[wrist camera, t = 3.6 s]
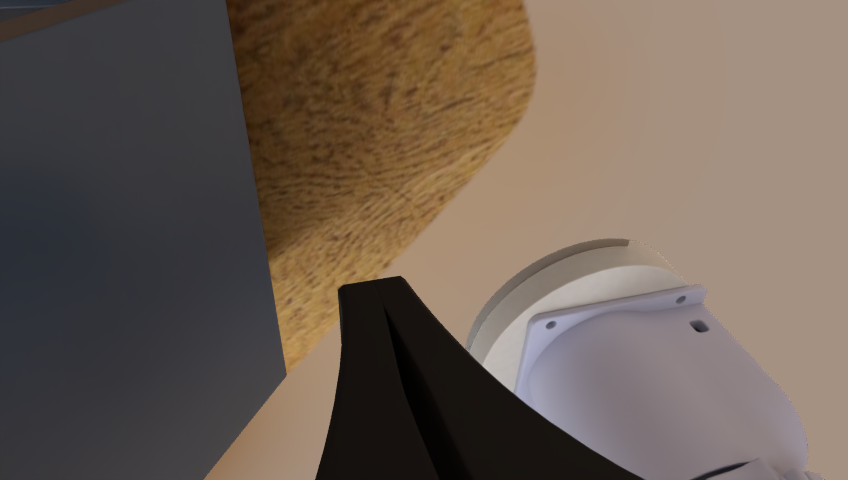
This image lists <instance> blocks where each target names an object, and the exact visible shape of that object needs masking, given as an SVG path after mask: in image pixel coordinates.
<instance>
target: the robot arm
mask: <svg viewBox="0 0 848 480" xmlns="http://www.w3.org/2000/svg"><path fill="white" fill-rule="evenodd" d="M706 293H707V290H706V289H705V288H704V287H703V286H702V285H701V284H696V285H691V286H685V287H680V288H675V289H669V290H664V291H659V292H653V293H648V294H643V295H638V296H632V297H627V298H622V299H616V300H611V301H606V302H600V303H595V304H590V305H584V306H579V307H574V308H569V309H563V310H558V311H553V312H547V313H542V314H538V315H535V316H534V317H532V318H531V319H530V321H529V323H528V327H527V332H526V337H525V342H524V347H523V351H522V356H521V361H520V366H519V370H518V375H517V380H516V385H515V390H514V393H512V392H511V391H510V390H509V389H508V388H506V387H505V386H504V385H503V384H502V383H501V382H499V381H498V380H497V379H496V378H495V377H494V376H493V375H492V374H491V373H489V372H488V371H487V370H486V369H485V368H484V367H483V366H482V365H481V364H480V363H479V362H478V361H477V360H476V359H475V358H474V357H473V356H472V355H471V354H470V353H469V352H467V351H466V350H465V349H464V348H463V347H462V346H461V344H459V342H458V341H457V340H456V339H455V338H454V337H453V336H452V335H451V334H450V333H449V332H448V331H447V330H446V329H445V328H444V326H443V325H442V324H441V323H440V322H439V321H438V320H437V318H435V316H434V315H433V314H432V313H431V311H430V310H429V309H428V308H427V307H426V306H425V304H424V303H423V302H422V301H421V299H420V298H419V297H418V296H417V295H416V293H415V292H414V291H413V289H412V288H411V287H410V285H409V284H408V283H407V281H406V280H405V279H404V278H402V277H401V276H396V277H389V278H383V279H377V280H371V281H364V282H358V283H352V284H346V285H343V286H341V287H340V288H339V289H338V299H339V314H340V329H341V344H342V347H341V359H340V370H339V376H338V382H337V388H336V395H335V401H334V406H333V411H332V416H331V421H330V425H329V430H328V434H327V438H326V442H325V446H324V450H323V454H322V457H321V461H320V464H319V468H318V472H317V475H316V479H315V480H825V479H824V478H823V477H822V476H821V475H820V474H818V473H813V472H809V471H805V469H806V465H807V459H808V444H807V438H806V435H805V431H804V428H803V426H802V423H801V420H800V418H799V416H798V414H797V412H796V410H795V408H794V406H793V404H792V403H791V401H790V400H789V398H788V397H787V395H786V394H785V392H784V391H783V390H782V389H781V388H780V386H779V385H778V384H777V383H776V382H775V381H774V380H773V379H772V378H771V377H770V376H769V375H768V374H767V372H766V371H765V370H764V369H763V368H762V367H761V366H760V365H759V364H758V363H757V362H756V361H755V359H754V358H753V357H752V356H751V355H750V354H749V353H748V352H747V351H746V350H745V349H744V348H743V347H742V345H741V344H740V343H739V342H738V341H737V340H736V339H735V338H734V337H733V336H732V335H731V334H730V333H729V331H728V330H727V329H726V328H725V327H724V326H723V325H722V324H721V323H720V322H719V321H718V320H717V319H716V318H715V317H714V316H713V314H712V313H711V312H710V311H709V310H708V309H707V308H706V307H705V306H704V305H703V304H702V303H703V301H704V298H705V296H706Z"/></svg>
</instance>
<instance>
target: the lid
mask: <svg viewBox="0 0 848 480" xmlns="http://www.w3.org/2000/svg"><path fill="white" fill-rule="evenodd" d="M286 375H287V374H286V368H285V362H284V356H283V350H282V343H281V337H280V331H279V325H278V319H277V313H276V307H275V300H274V294H273V288H272V282H271V276H270V270H269V263H268V257H267V251H266V245H265V239H264V233H263V227H262V220H261V214H260V208H259V202H258V196H257V190H256V183H255V177H254V171H253V165H252V159H251V153H250V147H249V140H248V134H247V128H246V122H245V116H244V110H243V103H242V97H241V91H240V85H239V79H238V73H237V66H236V60H235V54H234V48H233V42H232V36H231V30H230V23H229V17H228V11H227V5H226V0H73V1H69V2H66V3H63V4H59V5H56V6H53V7H49V8H46V9H43V10H39V11H36V12H33V13H29V14H26V15H23V16H19V17H16V18H13V19H9V20H6V21H3V22H0V480H203V479H204V478H205V477H206V476H207V474H208V473H209V472H210V470H211V469H212V468H213V467H214V466H215V464H216V463H217V462H218V461H219V459H220V458H221V457H222V455H223V454H224V453H225V452H226V451H227V449H228V448H229V447H230V446H231V444H232V443H233V442H234V441H235V439H236V438H237V437H238V436H239V434H240V433H241V432H242V431H243V429H244V428H245V427H246V426H247V424H248V423H249V422H250V421H251V419H252V418H253V417H254V416H255V414H256V413H257V412H258V411H259V409H260V408H261V407H262V406H263V404H264V403H265V402H266V401H267V399H268V398H269V397H270V396H271V394H272V393H273V392H274V391H275V389H276V388H277V387H278V386H279V384H280V383H281V382H282V381H283V380H284V378H285V377H286Z"/></svg>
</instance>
